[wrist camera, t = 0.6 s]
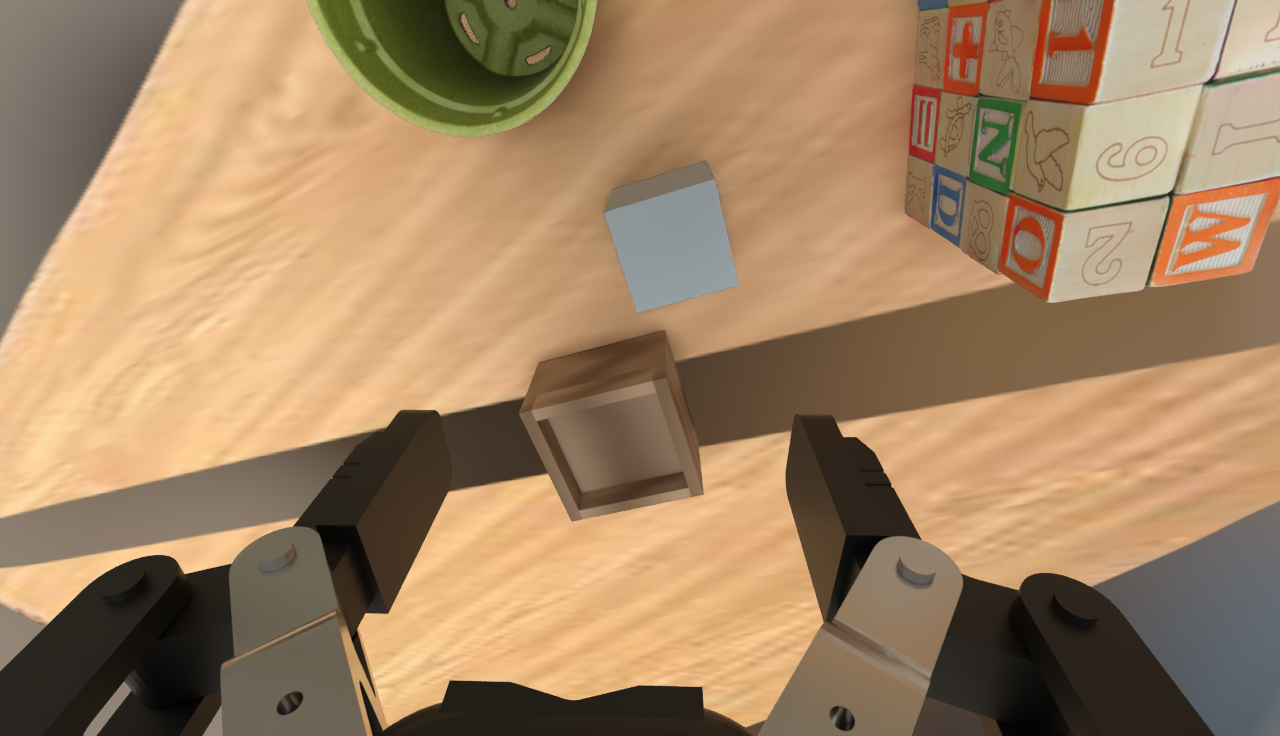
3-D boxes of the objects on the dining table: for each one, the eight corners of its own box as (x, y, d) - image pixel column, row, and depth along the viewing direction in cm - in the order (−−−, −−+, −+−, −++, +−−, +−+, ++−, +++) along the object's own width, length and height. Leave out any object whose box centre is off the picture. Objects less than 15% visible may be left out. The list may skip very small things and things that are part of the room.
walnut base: (665, 330, 32) (666, 377, 27) (697, 436, 36) (703, 494, 31) (538, 362, 34) (519, 413, 29) (582, 462, 37) (571, 521, 32)
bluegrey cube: (705, 160, 28) (714, 179, 23) (727, 253, 30) (738, 286, 26) (611, 189, 29) (603, 212, 24) (639, 277, 31) (636, 313, 26)
